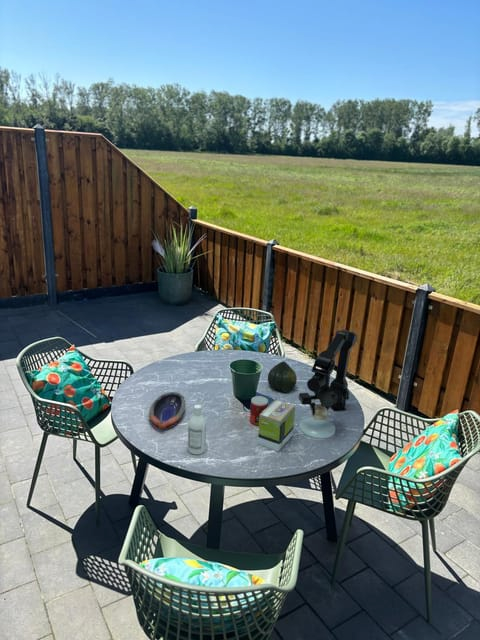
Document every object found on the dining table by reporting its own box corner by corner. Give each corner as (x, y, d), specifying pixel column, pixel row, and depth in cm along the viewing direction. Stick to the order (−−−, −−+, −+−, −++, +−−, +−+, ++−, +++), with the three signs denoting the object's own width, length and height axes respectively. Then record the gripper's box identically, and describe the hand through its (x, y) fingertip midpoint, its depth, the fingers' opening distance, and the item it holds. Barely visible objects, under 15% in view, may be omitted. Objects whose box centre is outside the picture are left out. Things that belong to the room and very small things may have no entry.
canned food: (255, 427, 202) (256, 406, 199) (246, 419, 209) (247, 397, 206) (269, 424, 206) (271, 402, 202) (261, 415, 213) (262, 394, 209)
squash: (278, 389, 227) (293, 363, 230) (258, 378, 238) (273, 354, 241) (292, 400, 236) (306, 375, 239) (272, 390, 247) (286, 366, 250)
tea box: (272, 428, 203) (275, 398, 198) (293, 435, 198) (296, 405, 194) (256, 444, 191) (259, 413, 186) (278, 452, 186) (281, 420, 181)
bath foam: (196, 442, 189) (197, 400, 183) (208, 449, 185) (210, 406, 179) (184, 450, 184) (185, 406, 178) (196, 457, 180) (197, 412, 174)
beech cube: (321, 413, 205) (323, 403, 204) (326, 419, 201) (327, 409, 199) (311, 414, 204) (312, 404, 203) (315, 420, 200) (316, 410, 198)
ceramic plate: (327, 418, 213) (327, 416, 213) (340, 437, 199) (341, 435, 198) (294, 420, 210) (294, 418, 210) (306, 440, 195) (306, 437, 195)
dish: (190, 400, 223) (190, 391, 222) (176, 435, 194) (177, 425, 193) (159, 398, 224) (159, 388, 223) (141, 432, 195) (140, 422, 193)
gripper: (308, 392, 188) (304, 425, 193) (350, 390, 191) (345, 423, 197) (299, 380, 198) (296, 412, 203) (339, 378, 202) (335, 409, 207)
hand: (318, 414), depth 202 cm, fingers closed on beech cube, 5 cm apart
